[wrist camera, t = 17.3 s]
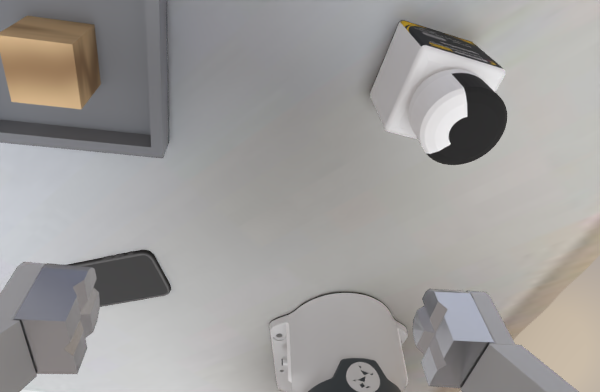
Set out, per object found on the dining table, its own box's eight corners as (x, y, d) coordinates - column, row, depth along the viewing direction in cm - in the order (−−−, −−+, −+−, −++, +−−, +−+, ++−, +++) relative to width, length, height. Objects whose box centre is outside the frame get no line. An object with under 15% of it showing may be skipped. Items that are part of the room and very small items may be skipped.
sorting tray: (168, 141, 43) (163, 158, 41) (-12, 123, 41) (-30, 139, 39) (165, -44, 34) (157, -37, 32) (-67, -80, 32) (-95, -76, 30)
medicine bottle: (474, 41, 39) (541, 98, 30) (436, 114, 43) (485, 185, 34) (399, 18, 38) (444, 70, 28) (367, 95, 42) (397, 164, 32)
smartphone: (24, 274, 52) (149, 251, 51) (28, 268, 53) (150, 245, 51) (57, 315, 56) (173, 295, 55) (60, 309, 57) (174, 289, 56)
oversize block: (100, 84, 39) (81, 109, 35) (38, 76, 38) (11, 101, 34) (94, 24, 36) (72, 44, 32) (27, 15, 35) (-5, 34, 31)
